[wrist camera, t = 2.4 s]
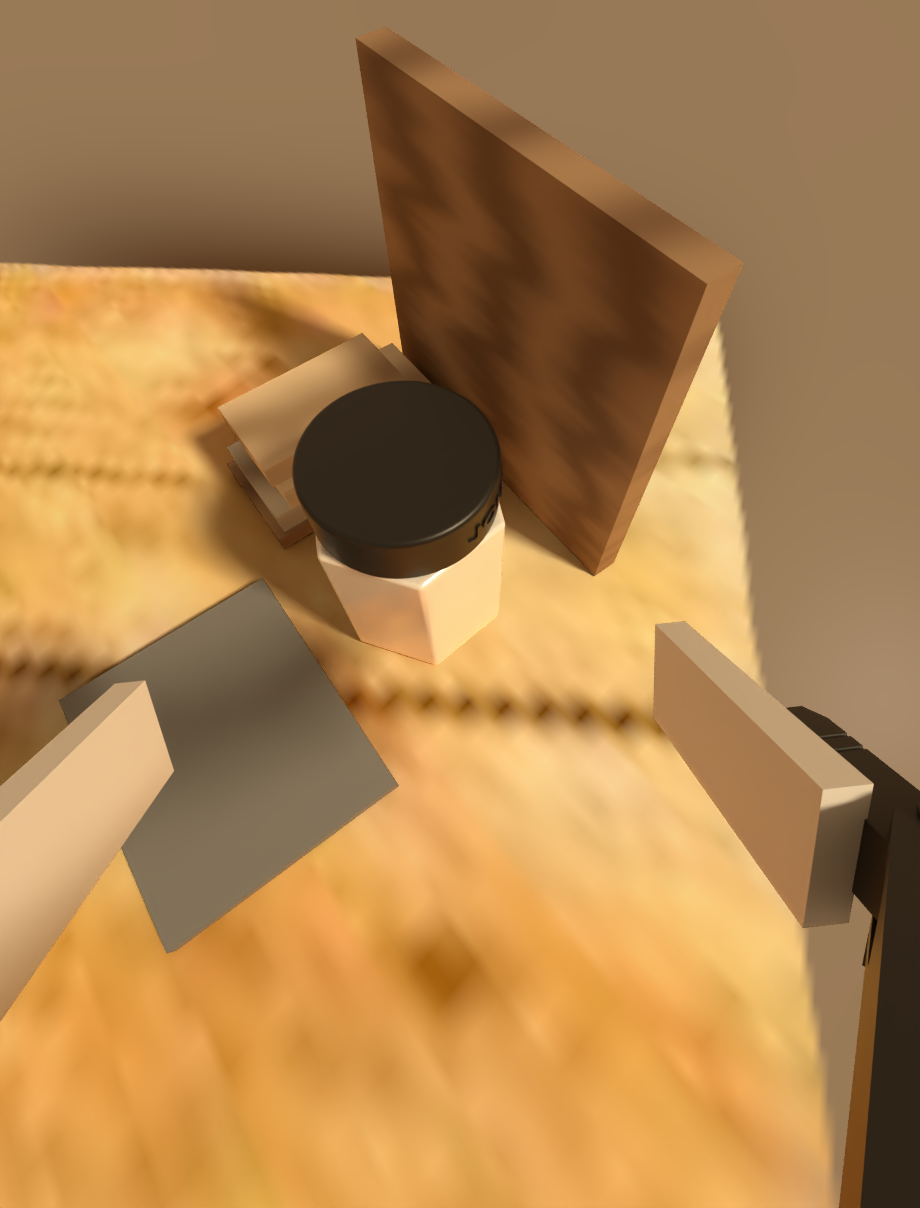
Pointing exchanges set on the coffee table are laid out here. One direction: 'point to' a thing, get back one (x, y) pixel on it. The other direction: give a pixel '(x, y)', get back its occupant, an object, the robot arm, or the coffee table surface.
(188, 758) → the rubber mat
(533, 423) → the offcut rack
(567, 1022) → the coffee table surface
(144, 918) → the coffee table surface
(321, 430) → the jar
